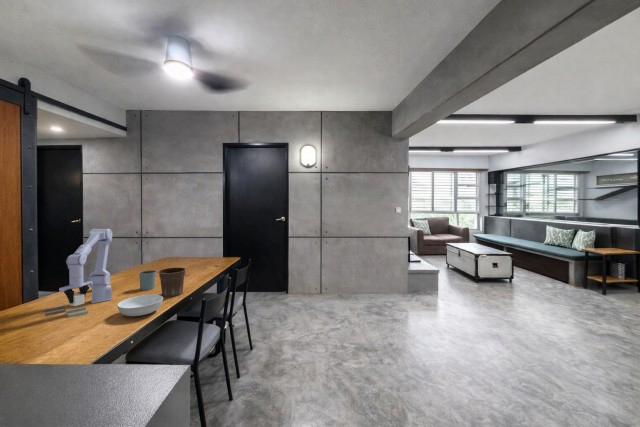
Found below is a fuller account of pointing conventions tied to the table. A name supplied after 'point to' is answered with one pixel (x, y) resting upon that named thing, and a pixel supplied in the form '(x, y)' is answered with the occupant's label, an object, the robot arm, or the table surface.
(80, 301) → the grey cube
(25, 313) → the table surface
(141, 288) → the drinking glass
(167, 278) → the plant pot
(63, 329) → the table surface
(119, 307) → the serving bowl
